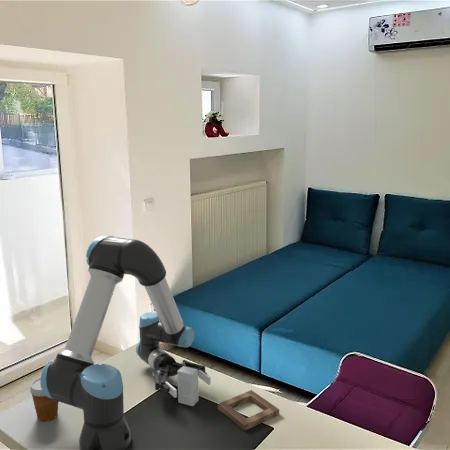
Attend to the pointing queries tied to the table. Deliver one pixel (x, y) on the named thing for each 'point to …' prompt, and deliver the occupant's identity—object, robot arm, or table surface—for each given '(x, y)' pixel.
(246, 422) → the square wooden frame
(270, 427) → the table surface
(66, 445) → the table surface
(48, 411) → the disposable coffee cup
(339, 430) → the table surface
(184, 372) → the skincare box
